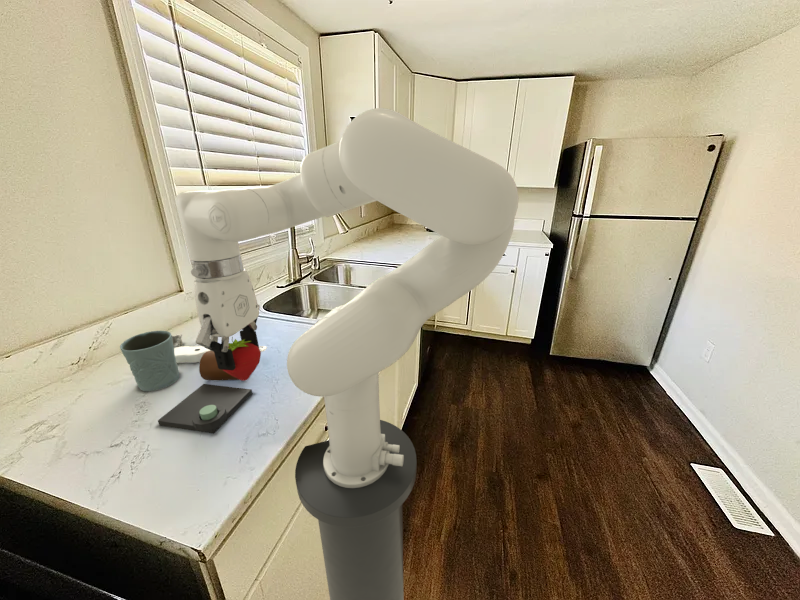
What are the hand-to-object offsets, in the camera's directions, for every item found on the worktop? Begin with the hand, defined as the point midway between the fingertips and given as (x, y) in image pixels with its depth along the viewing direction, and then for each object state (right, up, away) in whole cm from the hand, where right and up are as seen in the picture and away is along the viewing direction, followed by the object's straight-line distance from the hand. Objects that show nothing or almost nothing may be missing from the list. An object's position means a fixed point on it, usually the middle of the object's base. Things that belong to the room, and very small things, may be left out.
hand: (239, 357), depth 62 cm
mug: (-9, -6, +23) cm, 25 cm away
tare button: (-9, -13, +5) cm, 16 cm away
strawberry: (0, -5, +2) cm, 5 cm away
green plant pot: (-31, -10, +21) cm, 39 cm away
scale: (-12, -13, +11) cm, 21 cm away
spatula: (-22, -6, +31) cm, 39 cm away
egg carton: (-39, -5, +35) cm, 53 cm away
